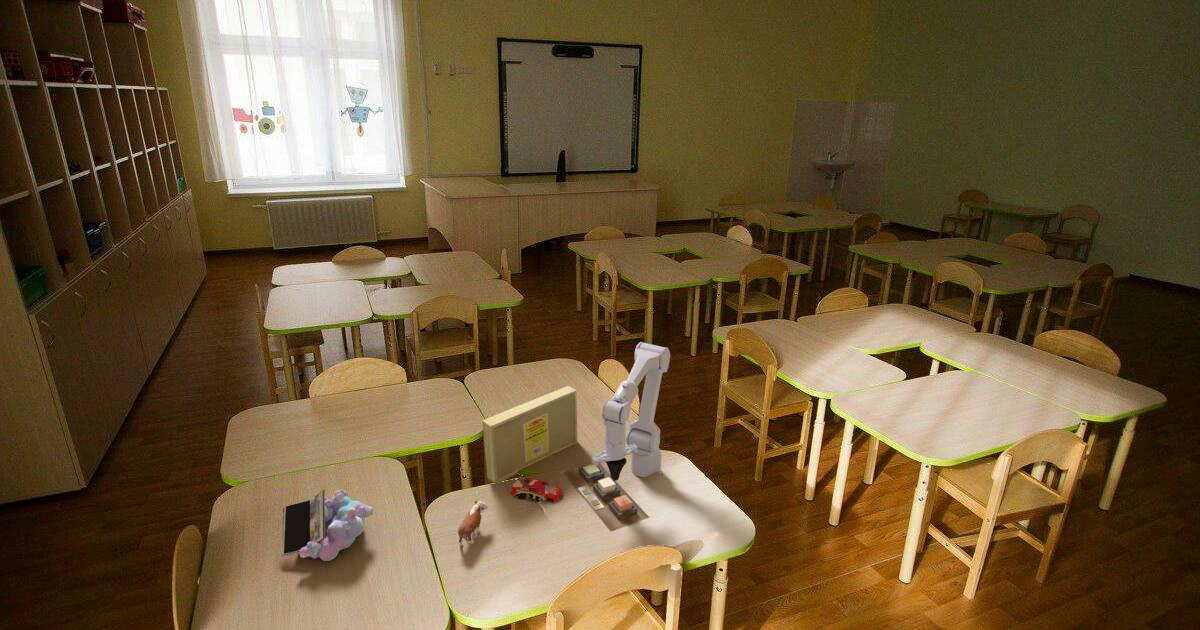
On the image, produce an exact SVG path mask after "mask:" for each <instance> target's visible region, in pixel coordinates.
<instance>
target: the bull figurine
mask: <svg viewBox="0 0 1200 630" xmlns="http://www.w3.org/2000/svg"><path fill="white" fill-rule="evenodd" d="M474 504H475V505H474V506H472V508H471V509H470V510H469V511H468V513H467V514H466V515H465V516H464V519H463V520H462V522H461V523H460V526H459V527H458V529H457V534H458V536H459V540H458V543H459V547H463V546H464V544H463V539H464V540H465V543H466V544H467V545H469V544H471V545H473V544H475V541H474V540H473V539H472V534H473V532H475V533H477V534H480V533H481V530H480V524H481V521H482V514H481V513H482V512H483V511H485V510H487V509H488V508H489V505H488V504H486V502H484V501H482V500H479V501H478V500H475V501H474Z"/></svg>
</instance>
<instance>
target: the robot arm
mask: <svg viewBox="0 0 1200 630" xmlns="http://www.w3.org/2000/svg"><path fill="white" fill-rule="evenodd" d="M670 361H671V352H670V349H669V347H664V346H660V345H655V344H652V343H646V342H643V341H640V342H639V343H638V344H637V345H636V347H635V350H634V364H633V366H632V368H631V370H630V373H629V374H628V376H627V379H626V380H623V381H621V382H620V384H619V386H618V387H617V389H616V391H615V392H614V395H613V397H611V399H610V400H607V401H605V403H604V405H603V406H602V407H603V408H602V412H601V418H602V419H603V424H604V425H605V449H604V450H603V451H601V452H599V454H597V455H595V456H593V457H591V459H592V460H591V464H592V463H593V465H595V466H598V464H600V465H601V464H602V463H606V466H607V469H608V471H609V474H610V475H611V478H612V479H613V480H614V481H616V482H617V481H619V479H620V476H621V473H622V470H623V468H624V466H625V465H626V464H627V458H626V457H627V456H629V455H630V454H631V455H630V457H631V458H630V471H631V473H632V474H633V475H635V477H636V476H637V477H639V478H640V477H641V478H643V477H644V478H645V477H649V476H650V475H652V474H654V473H658V474H659V475H663V472H662V471H661V470H662V452H661V449H660V448H659V446H660V444H661V429H660V428H659V427H658V425H657V424H656V422H654V420H655V419H654V418H655V415H656V409H657V403H658V399H659V398H658V397H659V392H660V389H661V388H660V387H661V382H662V377H663V373H667V372H668V369H669V367H670V365H669V364H670ZM644 377H645V381H644V386H643V391H642V397H641V402H640V407H639V414H638V419H637V420H634V421H632V422H631V423H630V424H629V426H628V427H629V428H628V431H627V433H626V428H627V427H626V426H627V425H626V423H627V421H628V419H629V417H630V414H631V411H632V404H633V402H634V401H635V399H636V397H637V395H638V393H639V388H638V386H639V385H640V383H641V381H642V380H643V379H644Z"/></svg>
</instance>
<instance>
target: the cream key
mask: <svg viewBox="0 0 1200 630" xmlns="http://www.w3.org/2000/svg"><path fill="white" fill-rule="evenodd" d="M598 488H599V489H600V490H601V492H602V493H603V494H605V493H608V492H611V491H614V490H615V483H614V482H613V481H612V480H611V479H610V478H609V477H608V478H605V479H602V480H599V481H598Z"/></svg>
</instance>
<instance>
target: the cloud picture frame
mask: <svg viewBox="0 0 1200 630" xmlns="http://www.w3.org/2000/svg"><path fill="white" fill-rule="evenodd" d="M325 490H326V489H325V487H324V488H322V489H321V490H320V491H317V493H316V494H314V495H313V496H312V497H311V498H310V499H308V500H304V501H300V502H296V503H292V504H287V505H284V506H282V507H281V544H280V545H281V550H280V551H281V552H280V553H281V554H280V555H281V556H280V557H281V558H285V557H289V556H293V555H297V554H299V556H300V558H303V559H304V558H308V557H309V558H310V557H311V558H312V559H317V558H320V559H321V560H322V561H324V562H328V561H329V562H330V561H333V559H335V558H336V557H337V556H338V554H339V552H340V551H342V550H344V549H347V548H350V547H351V545H352V544H353V543H354V541H355V540H356V538H357V537H359V536H360V535H361V534H362V533H363V531H364V530H365V525H366V523H365V521H366V520H365V519H366V518H369V517H370V516H372V515H373V513H374V508H373V507H372V505H371V506H370V505H367V504H365V503H362V502H360V501H359V500H352V499H351V497H349V496H348V495H349V494H348V492H347V491H345V490H343V489H337V490H336V491H335V492H334V493H335V494H334V495H333V496H332V497H331V499H329V497H327V496H325V495H326V494H325V493H326V491H325Z"/></svg>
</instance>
